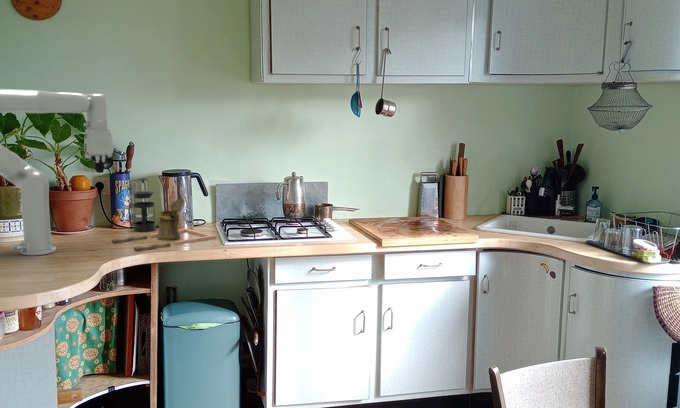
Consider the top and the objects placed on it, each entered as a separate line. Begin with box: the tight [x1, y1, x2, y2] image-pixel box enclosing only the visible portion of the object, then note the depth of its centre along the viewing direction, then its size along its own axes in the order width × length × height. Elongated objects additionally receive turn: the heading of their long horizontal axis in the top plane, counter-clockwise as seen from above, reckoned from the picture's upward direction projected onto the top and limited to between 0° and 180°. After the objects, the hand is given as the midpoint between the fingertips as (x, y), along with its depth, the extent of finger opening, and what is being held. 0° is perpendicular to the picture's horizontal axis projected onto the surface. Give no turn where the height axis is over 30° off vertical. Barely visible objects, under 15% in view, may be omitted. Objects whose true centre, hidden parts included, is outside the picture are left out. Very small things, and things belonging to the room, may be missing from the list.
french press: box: [128, 177, 157, 233], centre depth 302 cm, size 12×9×23 cm
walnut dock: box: [111, 234, 171, 253], centre depth 275 cm, size 14×22×1 cm, turn 44°
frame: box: [149, 227, 216, 246], centre depth 288 cm, size 18×22×1 cm
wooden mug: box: [156, 197, 185, 241], centre depth 284 cm, size 9×14×18 cm, turn 50°
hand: (99, 172), depth 270 cm, fingers closed
